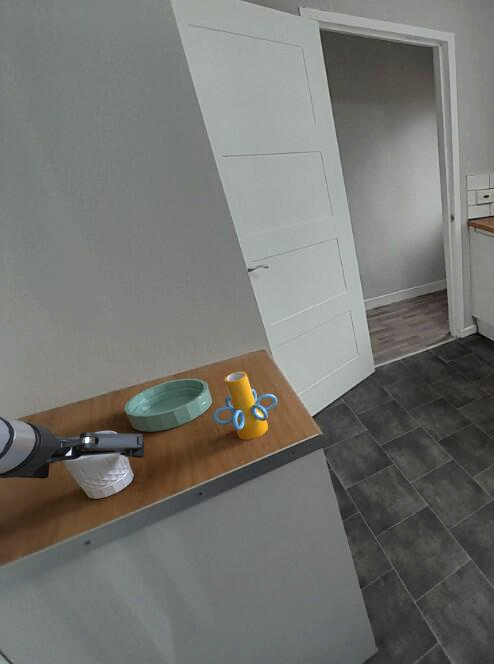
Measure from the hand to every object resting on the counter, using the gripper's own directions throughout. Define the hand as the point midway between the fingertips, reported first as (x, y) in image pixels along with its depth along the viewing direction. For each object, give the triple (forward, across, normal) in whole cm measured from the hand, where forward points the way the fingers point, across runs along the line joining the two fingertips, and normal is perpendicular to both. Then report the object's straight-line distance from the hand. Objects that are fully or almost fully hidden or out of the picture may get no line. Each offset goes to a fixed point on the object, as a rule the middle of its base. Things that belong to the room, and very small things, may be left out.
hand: (95, 459), depth 75 cm
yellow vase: (+11, +23, +1) cm, 25 cm away
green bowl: (+22, +4, +12) cm, 25 cm away
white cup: (+6, 0, -4) cm, 7 cm away
